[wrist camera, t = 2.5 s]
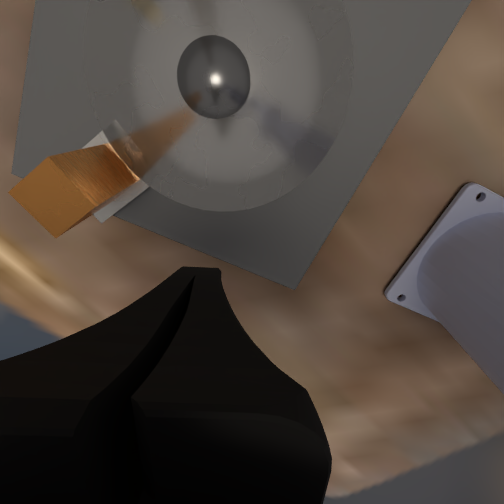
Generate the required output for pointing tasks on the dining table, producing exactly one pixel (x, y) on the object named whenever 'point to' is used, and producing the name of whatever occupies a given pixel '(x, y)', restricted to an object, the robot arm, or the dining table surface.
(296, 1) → the lidded saucepan
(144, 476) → the robot arm
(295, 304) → the dining table surface
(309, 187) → the base plate
